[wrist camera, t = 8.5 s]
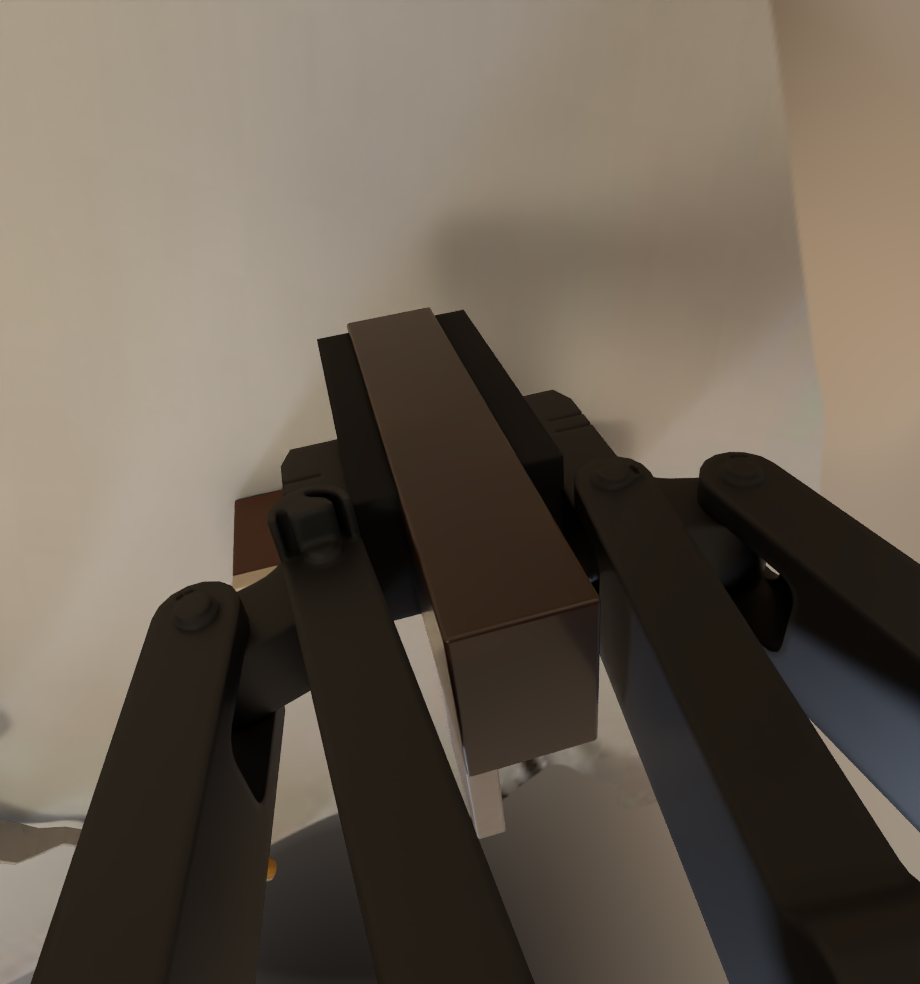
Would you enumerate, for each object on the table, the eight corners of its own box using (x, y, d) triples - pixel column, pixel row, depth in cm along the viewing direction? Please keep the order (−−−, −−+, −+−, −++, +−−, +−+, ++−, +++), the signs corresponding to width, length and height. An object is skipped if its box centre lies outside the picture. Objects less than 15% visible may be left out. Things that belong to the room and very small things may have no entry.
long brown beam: (430, 306, 16) (602, 599, 8) (488, 728, 26) (590, 1038, 19) (346, 322, 16) (443, 641, 8) (437, 742, 26) (519, 1064, 18)
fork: (286, 874, 43) (-78, 821, 32) (270, 896, 43) (-98, 851, 32) (278, 841, 45) (-66, 781, 34) (263, 862, 46) (-85, 809, 34)
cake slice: (352, 472, 29) (370, 556, 25) (378, 574, 33) (397, 662, 29) (234, 500, 29) (231, 590, 24) (273, 600, 32) (277, 694, 28)
